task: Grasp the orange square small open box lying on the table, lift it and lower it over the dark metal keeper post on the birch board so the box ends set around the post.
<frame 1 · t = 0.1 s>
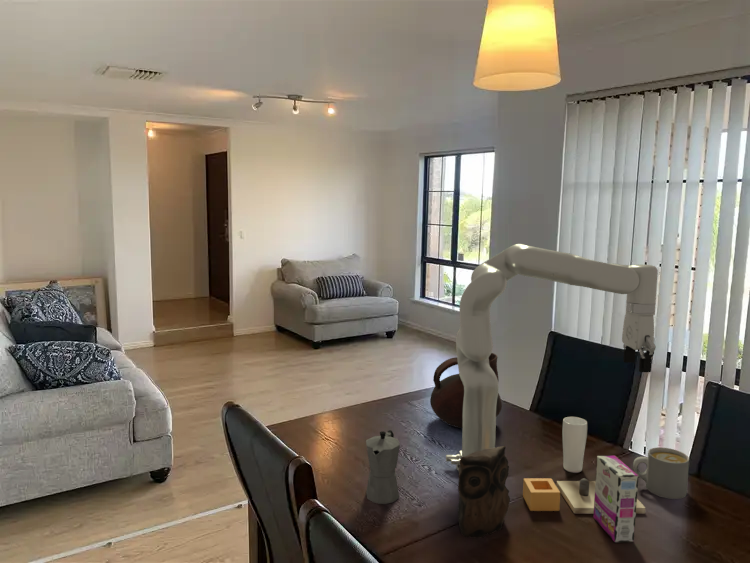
hand: (636, 366, 163), 31 cm above the table, tool pointing down, fingers open, 9 cm apart
small open box: (540, 503, 148), on the table
coffee mug: (658, 488, 156), on the table
candy bar box: (613, 530, 136), on the table
owl: (478, 523, 139), on the table
drinking glass: (572, 470, 167), on the table
jug: (465, 423, 202), on the table
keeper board: (598, 499, 150), on the table
coffeepot: (383, 494, 153), on the table
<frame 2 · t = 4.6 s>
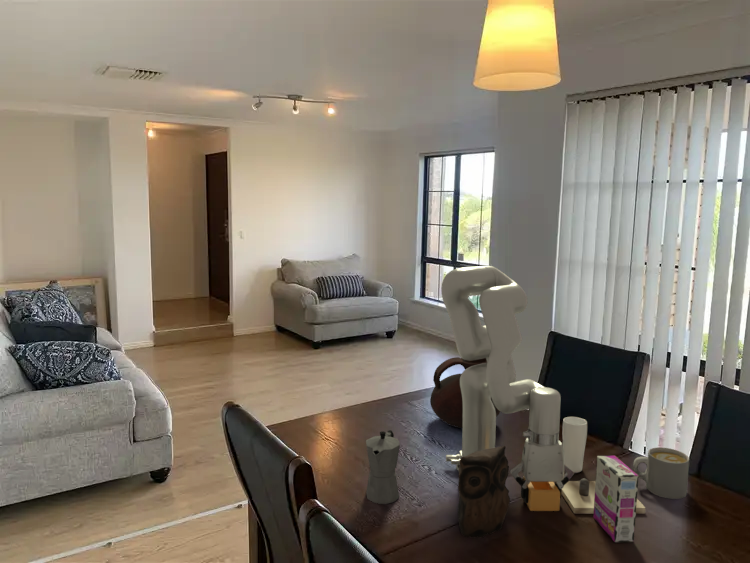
hand: (540, 500, 148), 1 cm above the table, tool pointing down, fingers closed on small open box, 7 cm apart
small open box: (540, 503, 148), on the table, touching gripper
everything else where it was.
when the fingers open (3 cm above the table, at t = 11.4 s): small open box stays where it is, resting on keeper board.
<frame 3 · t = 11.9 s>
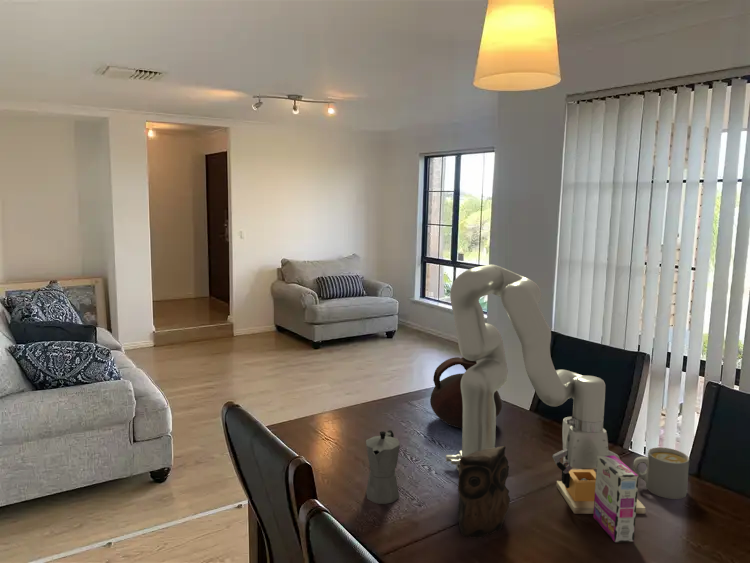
hand: (584, 485, 149), 4 cm above the table, tool pointing down, fingers open, 9 cm apart
small open box: (583, 493, 150), point 1 cm above the table, touching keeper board
everything else where it was.
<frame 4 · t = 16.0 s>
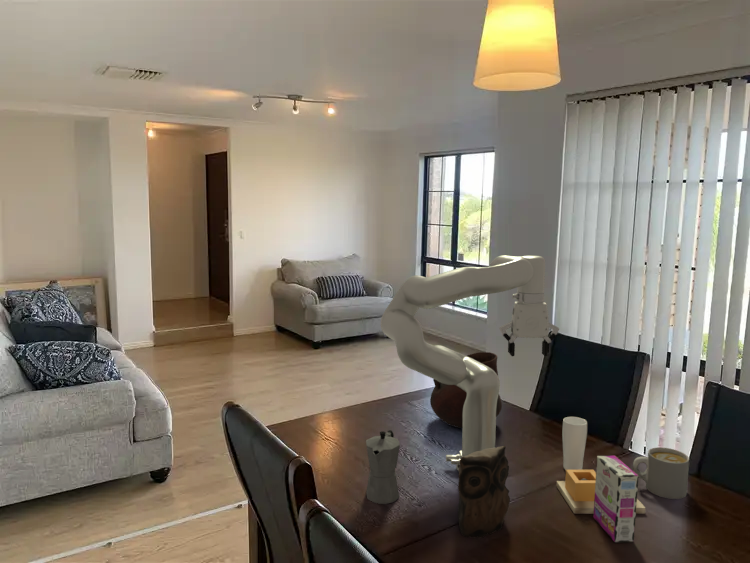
hand: (528, 355, 167), 33 cm above the table, tool pointing down, fingers open, 9 cm apart
nothing on the table moved.
at the end: small open box 0.1 cm from the target spot on the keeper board, point 1.5 cm above the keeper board's base; small open box tilted 0°; the gripper is holding nothing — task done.
